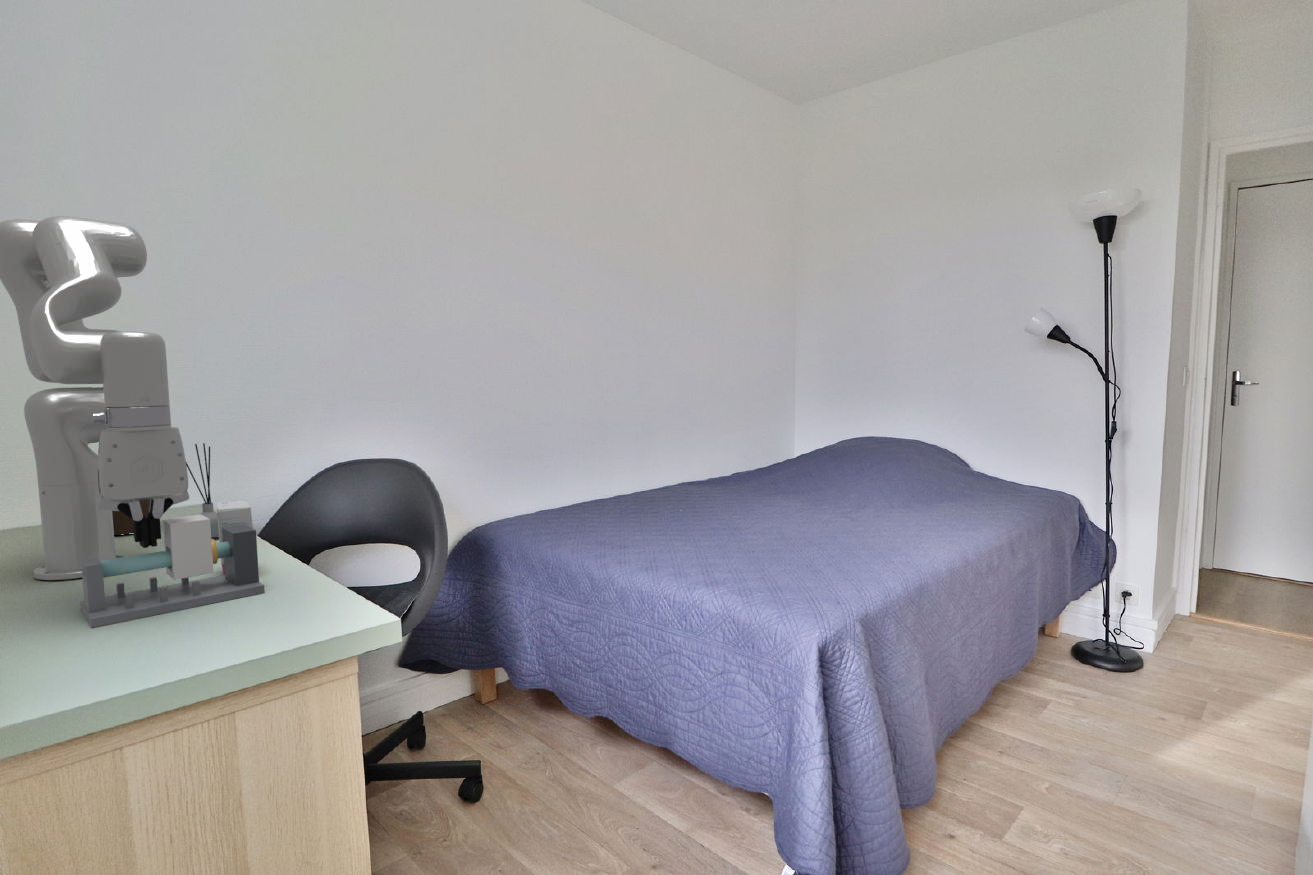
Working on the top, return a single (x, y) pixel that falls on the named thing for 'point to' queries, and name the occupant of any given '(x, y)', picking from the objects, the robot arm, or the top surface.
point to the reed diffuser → (206, 506)
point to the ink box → (233, 517)
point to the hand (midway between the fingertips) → (148, 545)
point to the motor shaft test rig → (187, 594)
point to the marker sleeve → (188, 546)
